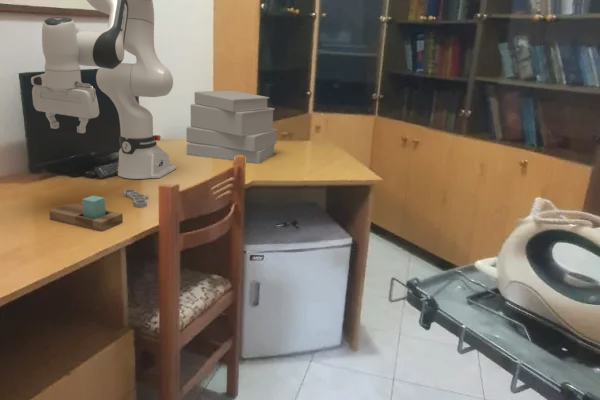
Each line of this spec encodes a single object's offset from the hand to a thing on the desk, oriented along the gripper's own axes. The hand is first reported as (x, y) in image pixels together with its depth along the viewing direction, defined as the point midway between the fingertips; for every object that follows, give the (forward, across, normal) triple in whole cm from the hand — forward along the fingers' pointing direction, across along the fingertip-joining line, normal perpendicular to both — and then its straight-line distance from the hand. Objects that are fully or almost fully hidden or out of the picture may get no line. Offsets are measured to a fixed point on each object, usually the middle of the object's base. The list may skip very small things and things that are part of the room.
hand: (68, 130), depth 151 cm
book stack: (+26, -5, -87) cm, 91 cm away
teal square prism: (+22, -14, +8) cm, 27 cm away
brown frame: (+22, -11, +7) cm, 26 cm away
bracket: (+24, -11, -14) cm, 30 cm away
